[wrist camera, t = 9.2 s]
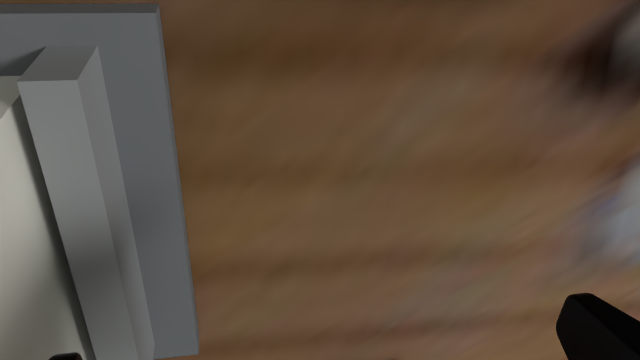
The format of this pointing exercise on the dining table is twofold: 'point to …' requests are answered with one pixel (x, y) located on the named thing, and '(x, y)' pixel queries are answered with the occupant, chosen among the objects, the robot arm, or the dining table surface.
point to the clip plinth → (109, 167)
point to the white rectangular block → (32, 251)
